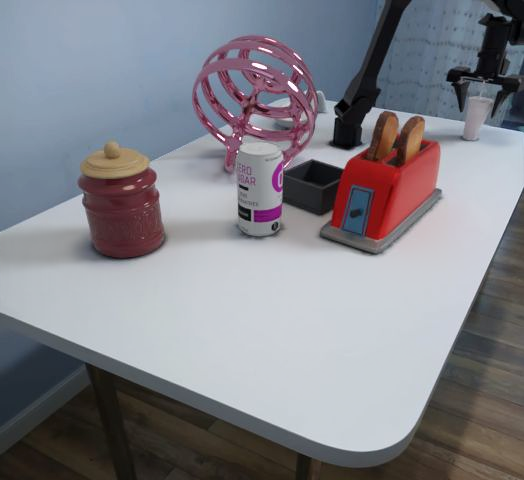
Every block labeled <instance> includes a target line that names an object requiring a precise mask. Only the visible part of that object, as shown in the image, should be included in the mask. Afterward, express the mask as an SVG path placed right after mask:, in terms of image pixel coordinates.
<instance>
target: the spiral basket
mask: <svg viewBox="0 0 524 480" xmlns="http://www.w3.org/2000/svg"><path fill="white" fill-rule="evenodd" d="M232 50H233V51H234V50H239V51H238V54H237V57H228V55H229V52H230V51H232ZM252 51H254V52H255V51H256V52H258V53H263V54H265V55H268V56H271V57H272V58H275V59H276V60H278V61H281V62H282V63H283V64H285V65H286V66H288V67H289V68H290V69H292V73H291V75H290V77H288V76H287V75H286V74H285V73H284V72H283V70H282V69H281V70H278V69H276V68H274V67H272V66H270V65H268V64H265V63H263V62H261V61H256V60H252V59H250V54H251V52H252ZM216 56H217V57H216ZM215 57H216V60H215V61H212V60H214V58H215ZM229 71H240V72H241V74H242V76H243V77H244V79H245V80H246V81H247V82H248V83H249V84H251V85H252V88H253V89H252V91H251V93H249V94H248V95H246V94H245V93H243V91H241V90H240V89H239V88H238V86H237V85H236V84H235V83H234V81H233V80H232V78H231V76H230V74H229ZM214 73H217V77H218V80H219V82H220V84H221V86H222V88H223V89H224V91H225V92H226V93H227V95H228V96H229V97H230V98H231V99H232V100H233V101H234V102H236V103H237V104H238V105H239V107H240V108H241V113H240V114H239V115H238V116H236V115H234V114H233V113H232V112H230V111H229V110H228V109H227V108H226V107H225V106H224V105H223V104H222V103H221V102H220V101H219V99H218V98H217V96H216V94H215V93H214V91H213V89H212V86H211V83H210V80H209V76H210V75H212V74H214ZM301 81H304V83H305V84H306V86H307V89H306V90H307V92H306V94H304V91H303V90H302V89H301V87H299V85H300V83H301ZM199 85H200V88H201V91H202V94H203V96H204V98H205V100H206V102H207V103H208V105H209V107H210V108H211V109H212V110H213V112H214V113H215V114H216V115H217V116H218V117H219V118H220V119H221V120H222V121H223V122H224V123H226V124H227V125H228V126H229V127H230V128H231V129H232V133H231V135H227V134H225V133H223V131H222V130H220V129H219V128H218V127H216V126H215V125H214V123H213V122H211V120H210V119H209V118H208V116H207V115H206V114H205V112H204V111H203V109H202V107H201V105H200V101H199V98H198V88H199ZM317 91H318V90H317V88H316V85H315V82H314V78H313V75H312V72H311V70H310V68H309V66H308V64H307V63H306V61H305V60H304V59H303V58H302V56H301V55H300V54H299V53H298V52H297V51H296V50H294V49H293V48H292V47H291V46H289V45H288V44H286V43H284V42H283V41H281V40H279V39H277V38H273V37H271V36H267V35H262V34H245V35H241V36H238V37H235V38H233V39H231V40H229V41H228V42H226V43H224V44H222V45H220V46H219V47H217V48H216V49H214V50H213V51H212V52H211V53H210V54H209V55H208V56H207V58H206V59H205V61H204V63H203V65H202V67H201V70H200V71H199V72H198V74H197V75H196V77H195V79H194V82H193V85H192V90H191V102H192V107H193V110H194V113H195V115H196V117H197V119H198V120H199V122H200V124H201V125H202V126H203V127H204V129H205V130H206V131H207V132H208V133H209V134H210V135H211V136H212V137H213V138H214V139H216V140H217V141H218V142H220V143H221V144H222V145H223V146H224V147H225V149H226V153H225V158H224V167H225V169H226V171H227V172H232V171H233V170H234V166H233V165H234V163H235V159H236V156H237V153H238V151H239V149H240V146H241V145H242V144H244V143H243V138H244V137H247V136H249V137H251V138H254V139H258V140H260V141H268V142H278V143H279V142H290V145H289V148H287V149H285V150H281V152H282V154H283V170H284V169H286V167H288V166H289V164H290V163H291V162H292V161H293V160H294V158H296V156H299V154H301V153H302V152H303V151H304V150H305V149H306V148H307V147H308V145H310V142H311V141H312V139H313V136H314V134H315V129H316V122H317V118H318V114H319V111H318V96H317ZM261 92H264V93H267V94H271V95H285V94H286V95H287V96H288V98H289V101H290V105H289V106H287V107H280V106H272V105H266V104H263V103H261V102H259V95H260V94H261ZM312 99H314V111H313V108H312V106H311V104H310V103H311V101H312ZM303 112H305V114H306V117H307V119H308V121H307V122H306V123H304V124H302V123H301V115H302V113H303ZM252 115H258V116H260V117H263V118H267V119H273V120H275V119H285V118H292V120H293V127H292V128H291V129H286V130H269V129H265V128H260V127H258V126H254V125H253V124H251V122H250V118H251V117H252ZM307 133H308V136H307V137H306V139H305V140H304V141H302V143H301V140H302V138H303V137H304V136H305V135H306V134H307ZM300 143H301V144H300Z"/></svg>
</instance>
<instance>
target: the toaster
mask: <svg viewBox="0 0 524 480" xmlns="http://www.w3.org/2000/svg"><path fill="white" fill-rule="evenodd" d="M425 126H426V120H425V118H424V117H423V116H420V115H414V116H412V117H409V119H408V120H407V121H406V122H405V123H404V125H403V127H402V129H401V130H400V132H399V128H400V123H399V117H398V115H397V113H396V112H393V111H390V110H384V111H382V112H381V113H379V115H378V117H377V120H376V122H375V126H374V129H373V133H372V137H371V141H370V144H369V147H367V148H365V149H363V150H362V151H361V152H359V153H357V154H356V155H354V156H352V157H350V158H349V159H348V160H347V162H346V163H345V166H344V168H343V169H344V170H343V173H342V175H341V177H340V181H339V185H338V189H337V193H336V198H335V203H334V208H333V209H332V213H331V219H330V220H328V221H327V222H326V223H325V224H324V225H323V226H322V227H321V228H320V229H319V235H320V236H321V237H322V238H325V239H328V240H331V241H334V242H337V243H340V244H344V245H347V246H350V247H353V248H356V249H359V250H362V251H365V252H369V253H371V254H375V255H376V254H379V253H382V252H383V251H384V250H386V249H387V248H388V247H390V245H392V243H394V242H395V241H396V239H398V238H399V237H400V236H401V235H402V234H403V233H404V232H405V231H406V230H407V229H408V228H409V227H411V226H412V225H413V224H414V223H415V222H416V221H417V220H418V219H419V218H420V217H421V216H422V215H424V213H425V212H427V211H428V210H429V209H430V208H431V207H432V206H433V205H434V204H435V203H436V202H437V201H438V200H439V198H440V197H441V196H442V194H443V190H442V189H441V188H438V187H437V182H438V177H439V171H440V164H441V156H442V154H441V153H442V152H441V143H440V142H439V141H437V140H431V139H426V138H424V137H423V136H424V132H425ZM398 132H399V133H398Z"/></svg>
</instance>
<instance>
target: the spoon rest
mask: <svg viewBox="0 0 524 480" xmlns="http://www.w3.org/2000/svg"><path fill="white" fill-rule="evenodd" d="M316 91H317V96H318V112H327V101H326V97H325V95H324V92H322V91H321V90H316ZM303 92H304V94H306V92H307V89H305V90H304V91H303ZM310 104H311V106H312V108H313V111H314V99H312V101H311V103H310ZM289 105H290V100H288V101H287V102H285V103H284V104H282V105H280V106H279V107H287V106H289ZM274 120H275V122H276V123H277V124H278V125H280V126H281V127H283V128H286V129H287V130H290V129H291V128H292V127H293V120H292V118H285V119H274ZM307 121H308V119H307V117H306V114H305V112H303V113H302V115H301V123H302V124H304V123H306V122H307Z"/></svg>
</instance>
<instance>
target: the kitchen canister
mask: <svg viewBox="0 0 524 480" xmlns="http://www.w3.org/2000/svg"><path fill="white" fill-rule="evenodd" d="M150 164H151V161H150V159H149V158H148V157H147V156H146V155H144V154H142V153H140V152H139V151H138V150H135V149H133V148H127V147H120V145H119V144H118V143H117V142H116V141H113V140H111V141H107V142H105V144H104V146H103V149H100V150H99V149H98V150H96V151H94V152H91V153H90V154H89V155H87V157H86V158H85V159H83V160H82V161H81V162H80V163H79V165H78V168H79V171H80V173H81V174H80V175H79V176H78V178H77V186H78V188H79V189H80V190H82V194H83V197H82V199H81V204H82V206H83V207H84V211H85V215H86V219H87V223H88V227H89V236H90V239H91V243H92V244H93V246H94V249H95V250H96V251H97V252H98V253H100V254H102V255H104V256H107V257H110V258H111V257H112V258H118V259H119V258H120V259H123V258H126V259H128V258H134V257H135V258H136V257H140V256H143V255H147V254H149V253H151V252H153V251H155V250H157V249H158V248H159V247H161V245H162V244H163V242H164V239H165V225H164V223H163V217H162V211H161V202H160V191H159V190H158V188H157V187H156V181H157V179H158V174H157V171H156V170H154V168H152V167H150Z"/></svg>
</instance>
